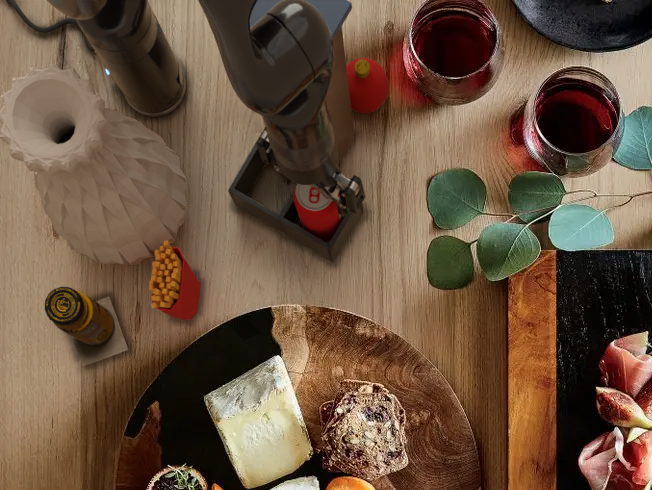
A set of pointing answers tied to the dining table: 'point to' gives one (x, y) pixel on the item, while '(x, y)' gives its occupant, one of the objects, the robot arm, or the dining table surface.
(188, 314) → the french fries
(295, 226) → the rack
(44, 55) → the dining table surface
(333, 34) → the gray square slab
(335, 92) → the post
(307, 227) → the beverage can
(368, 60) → the christmas ornament
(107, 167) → the vase
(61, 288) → the condiment
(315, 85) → the robot arm
